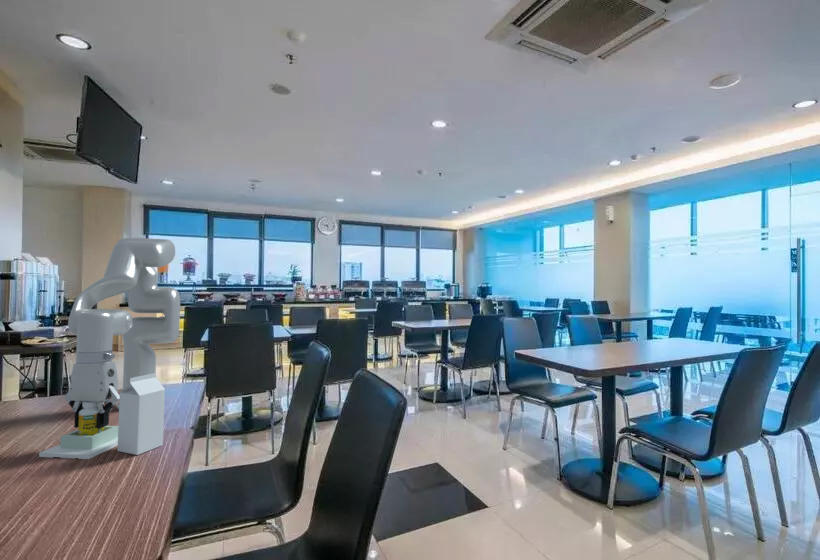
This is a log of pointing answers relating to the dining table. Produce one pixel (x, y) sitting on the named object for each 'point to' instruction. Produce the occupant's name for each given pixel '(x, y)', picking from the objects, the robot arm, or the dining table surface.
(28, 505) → the dining table surface
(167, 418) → the dining table surface
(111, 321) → the robot arm
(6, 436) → the dining table surface
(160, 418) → the milk carton
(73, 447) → the cup holder
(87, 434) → the supplement bottle
